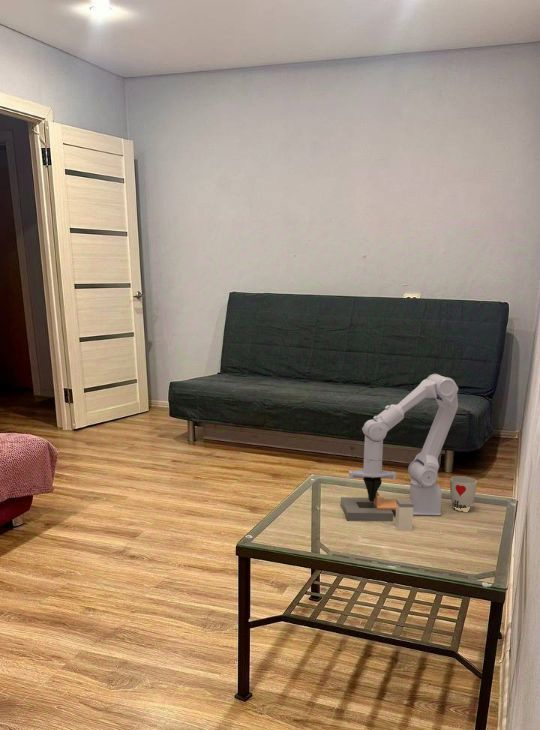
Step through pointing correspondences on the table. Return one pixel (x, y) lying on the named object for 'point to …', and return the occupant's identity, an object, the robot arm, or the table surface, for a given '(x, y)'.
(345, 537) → the table surface
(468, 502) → the cup
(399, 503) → the beige rectangular block
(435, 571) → the table surface
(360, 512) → the socket housing
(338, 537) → the table surface
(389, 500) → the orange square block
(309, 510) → the table surface
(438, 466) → the robot arm
